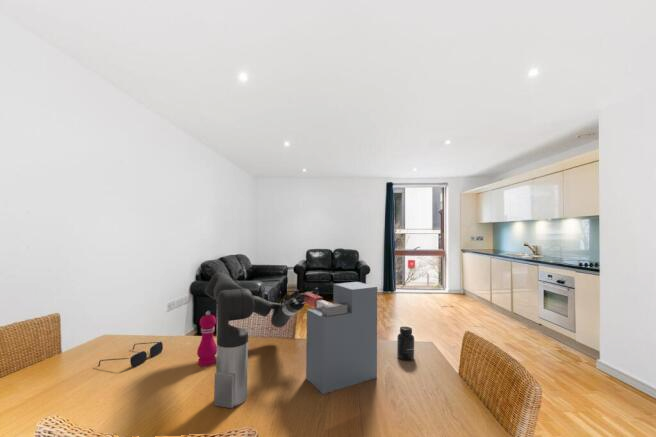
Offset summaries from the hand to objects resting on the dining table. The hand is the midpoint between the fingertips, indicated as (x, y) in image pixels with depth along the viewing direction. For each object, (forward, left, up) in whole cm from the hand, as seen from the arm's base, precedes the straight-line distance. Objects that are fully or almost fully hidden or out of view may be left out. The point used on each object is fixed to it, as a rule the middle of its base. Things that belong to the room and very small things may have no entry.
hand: (308, 291), depth 120 cm
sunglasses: (-14, +69, -29) cm, 76 cm away
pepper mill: (-10, +38, -28) cm, 48 cm away
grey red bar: (-8, -8, -4) cm, 12 cm away
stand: (-8, -15, -28) cm, 33 cm away
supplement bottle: (+16, -37, -28) cm, 50 cm away
